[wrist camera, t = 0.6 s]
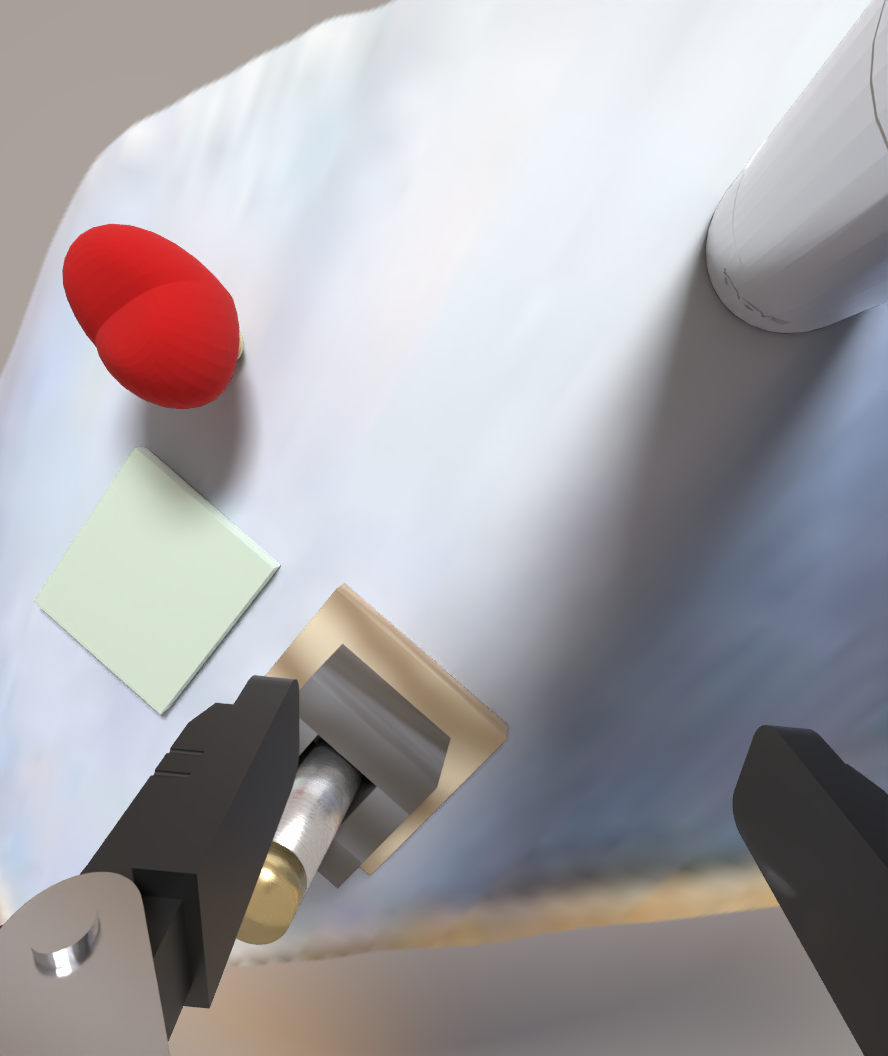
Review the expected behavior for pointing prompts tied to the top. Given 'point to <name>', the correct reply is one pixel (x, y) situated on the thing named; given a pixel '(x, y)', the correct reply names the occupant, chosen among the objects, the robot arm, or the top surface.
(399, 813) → the stand
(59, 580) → the sage mat
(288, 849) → the key peg
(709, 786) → the top surface
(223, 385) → the red rounded lobed piece
